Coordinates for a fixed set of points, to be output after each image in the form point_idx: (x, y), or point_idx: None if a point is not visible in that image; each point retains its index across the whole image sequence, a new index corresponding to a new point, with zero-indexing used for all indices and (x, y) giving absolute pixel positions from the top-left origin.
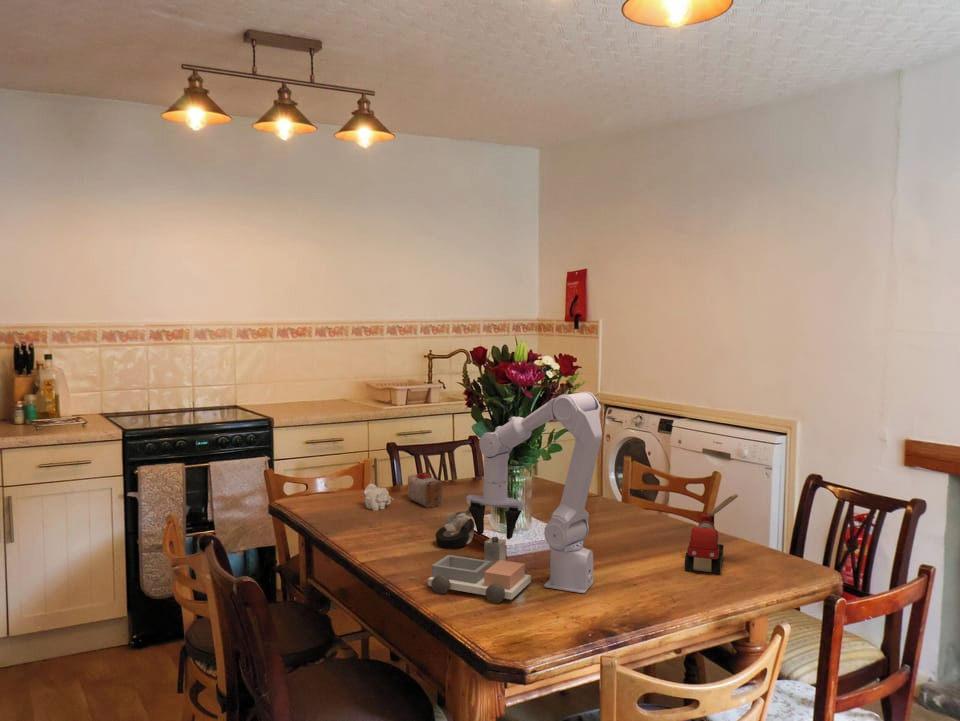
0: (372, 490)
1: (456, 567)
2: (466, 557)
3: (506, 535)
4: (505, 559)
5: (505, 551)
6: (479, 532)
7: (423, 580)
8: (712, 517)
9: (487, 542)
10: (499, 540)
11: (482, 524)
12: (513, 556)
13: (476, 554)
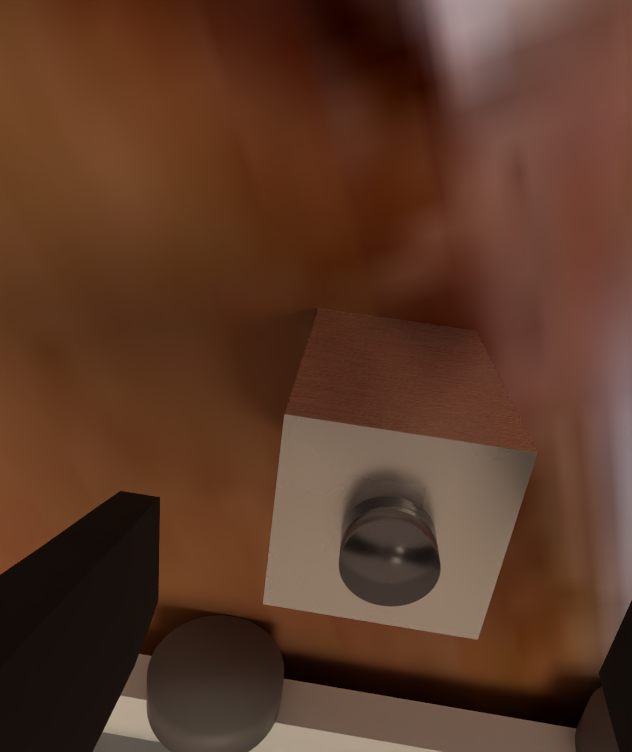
0: None
1: None
2: (196, 735)
3: (616, 740)
4: (482, 345)
5: (499, 382)
6: (136, 644)
7: None
8: None
9: (306, 609)
10: (446, 504)
11: (83, 632)
12: (531, 59)
13: (110, 131)
